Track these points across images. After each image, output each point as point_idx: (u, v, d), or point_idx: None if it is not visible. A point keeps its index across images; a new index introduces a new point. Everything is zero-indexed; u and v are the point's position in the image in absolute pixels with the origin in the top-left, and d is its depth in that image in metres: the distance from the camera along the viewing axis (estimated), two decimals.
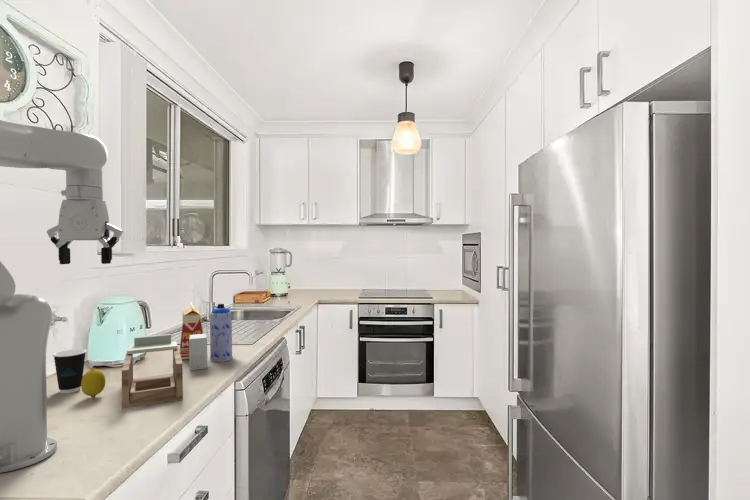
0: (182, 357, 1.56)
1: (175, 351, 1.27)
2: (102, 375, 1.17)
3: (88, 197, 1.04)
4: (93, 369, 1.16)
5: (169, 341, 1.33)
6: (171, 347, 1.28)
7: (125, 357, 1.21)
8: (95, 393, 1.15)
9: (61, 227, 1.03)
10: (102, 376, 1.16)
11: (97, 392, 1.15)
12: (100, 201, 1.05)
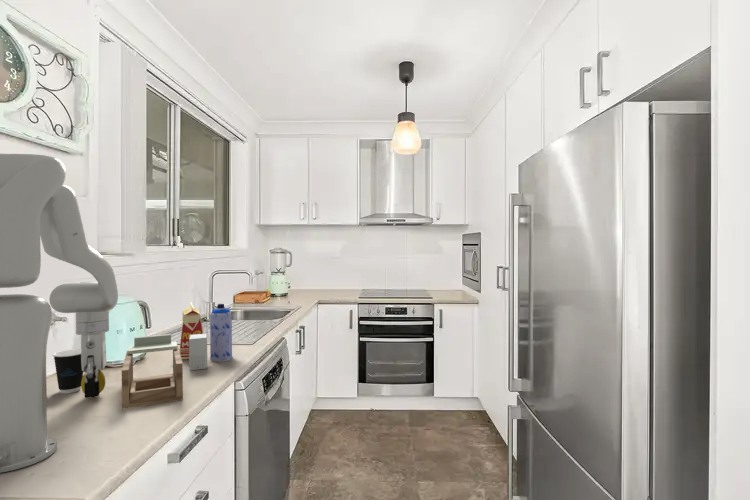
0: (182, 357, 1.56)
1: (175, 351, 1.27)
2: (102, 375, 1.17)
3: None
4: (93, 369, 1.16)
5: (169, 341, 1.33)
6: (171, 347, 1.28)
7: (125, 357, 1.21)
8: None
9: (103, 359, 1.14)
10: (102, 376, 1.16)
11: None
12: None
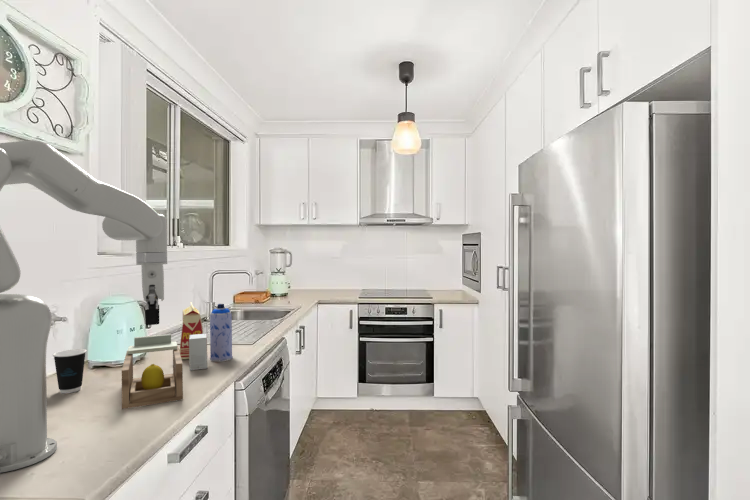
0: (182, 357, 1.56)
1: (175, 351, 1.27)
2: (161, 371, 1.16)
3: None
4: (153, 365, 1.16)
5: (169, 341, 1.33)
6: (171, 347, 1.28)
7: (125, 357, 1.21)
8: None
9: (163, 289, 1.14)
10: (161, 372, 1.16)
11: None
12: None
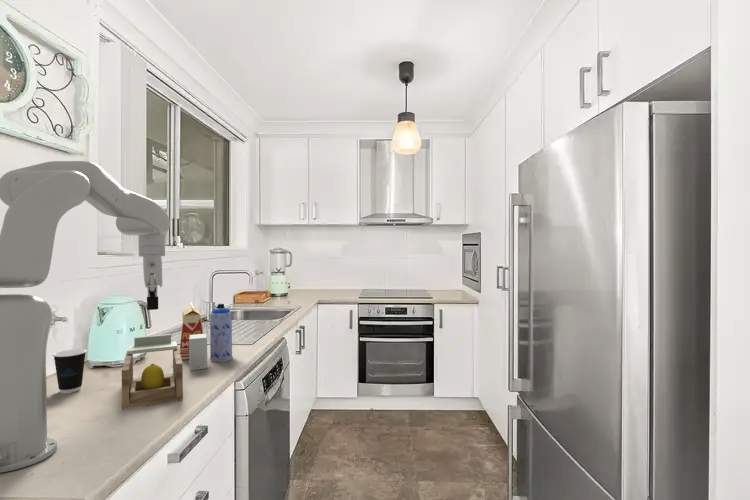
0: (182, 357, 1.56)
1: (175, 351, 1.27)
2: (161, 370, 1.17)
3: None
4: (152, 364, 1.16)
5: (169, 341, 1.33)
6: (171, 347, 1.28)
7: (125, 357, 1.21)
8: None
9: None
10: (161, 371, 1.16)
11: (157, 387, 1.15)
12: None
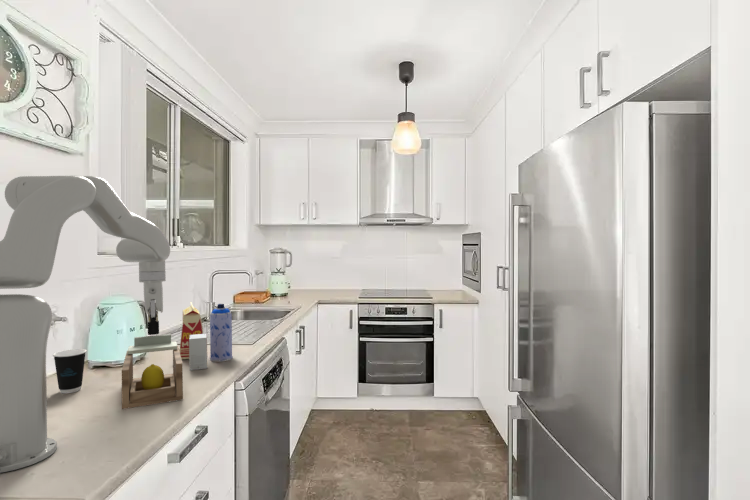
0: (182, 357, 1.56)
1: (175, 351, 1.27)
2: (161, 371, 1.16)
3: None
4: (153, 365, 1.16)
5: (169, 341, 1.33)
6: (171, 347, 1.28)
7: (125, 357, 1.21)
8: None
9: (162, 303, 1.35)
10: (161, 372, 1.16)
11: None
12: None
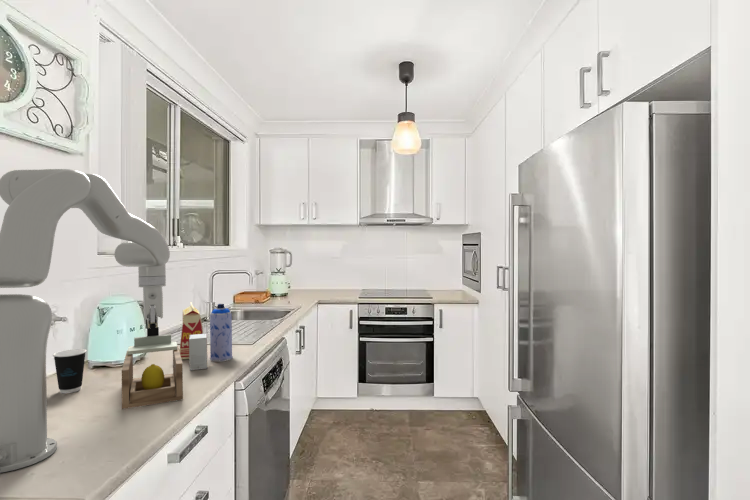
0: (182, 357, 1.56)
1: (175, 351, 1.27)
2: (161, 371, 1.16)
3: None
4: (153, 365, 1.16)
5: (169, 341, 1.33)
6: (171, 347, 1.28)
7: (125, 357, 1.21)
8: None
9: (162, 308, 1.31)
10: (161, 372, 1.16)
11: None
12: None
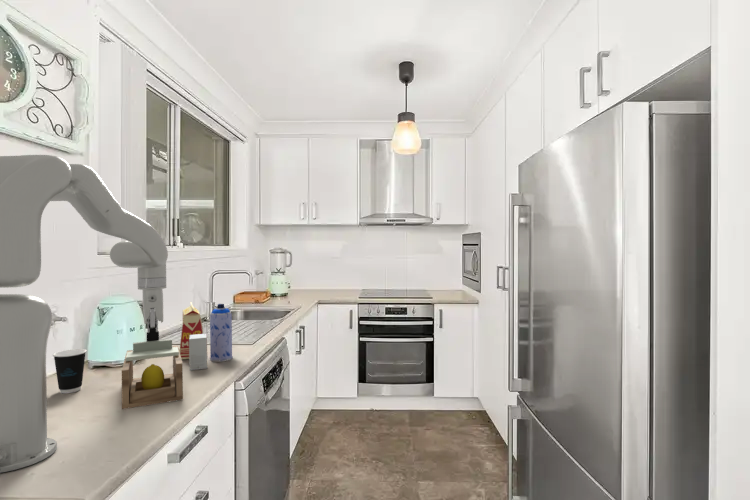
0: (182, 357, 1.56)
1: None
2: (161, 371, 1.16)
3: None
4: (153, 365, 1.16)
5: (170, 346, 1.25)
6: (172, 353, 1.21)
7: (125, 357, 1.21)
8: None
9: None
10: (161, 372, 1.16)
11: None
12: None
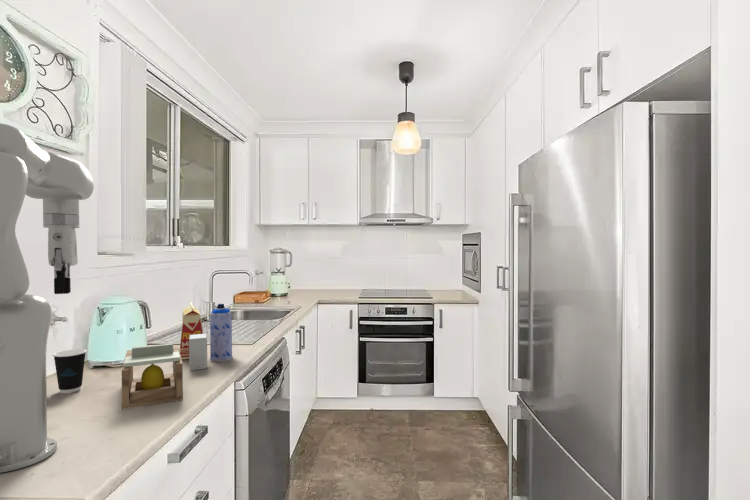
0: (182, 357, 1.56)
1: (175, 351, 1.27)
2: (161, 371, 1.16)
3: None
4: (152, 365, 1.16)
5: (171, 351, 1.20)
6: (173, 358, 1.15)
7: (125, 357, 1.21)
8: None
9: (72, 253, 1.08)
10: (161, 372, 1.16)
11: None
12: None
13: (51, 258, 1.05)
